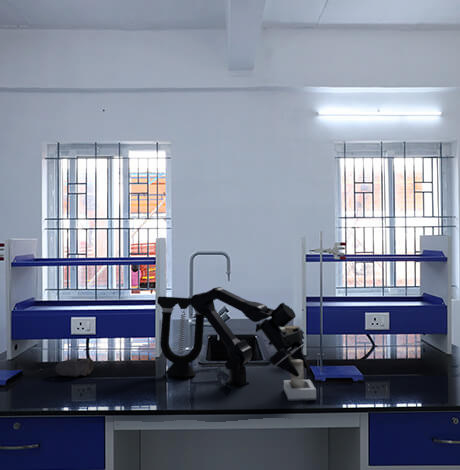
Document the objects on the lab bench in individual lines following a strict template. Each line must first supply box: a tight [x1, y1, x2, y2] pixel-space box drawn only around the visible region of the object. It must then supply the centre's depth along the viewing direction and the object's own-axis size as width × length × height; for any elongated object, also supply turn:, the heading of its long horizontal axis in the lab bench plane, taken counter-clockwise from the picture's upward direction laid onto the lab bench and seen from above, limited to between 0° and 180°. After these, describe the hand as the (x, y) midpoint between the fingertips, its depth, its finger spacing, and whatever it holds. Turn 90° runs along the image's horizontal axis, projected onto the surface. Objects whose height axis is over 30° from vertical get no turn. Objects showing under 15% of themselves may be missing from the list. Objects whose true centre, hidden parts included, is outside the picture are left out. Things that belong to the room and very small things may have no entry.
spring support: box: [156, 296, 205, 378], centre depth 167 cm, size 21×12×30 cm, turn 81°
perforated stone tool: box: [55, 357, 94, 378], centre depth 167 cm, size 15×5×7 cm, turn 85°
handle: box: [284, 325, 301, 360], centre depth 181 cm, size 5×6×15 cm
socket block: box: [283, 379, 317, 402], centre depth 144 cm, size 9×9×4 cm
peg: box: [290, 359, 305, 388], centre depth 144 cm, size 4×4×11 cm
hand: (302, 371), depth 143 cm, fingers open, 9 cm apart
